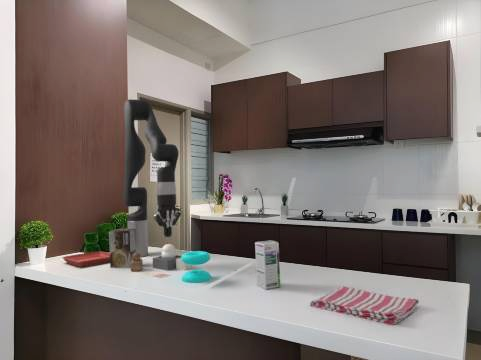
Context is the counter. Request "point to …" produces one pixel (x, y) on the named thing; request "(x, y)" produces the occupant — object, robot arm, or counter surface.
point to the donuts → (196, 259)
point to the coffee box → (122, 247)
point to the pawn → (136, 263)
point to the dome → (168, 251)
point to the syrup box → (267, 264)
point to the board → (161, 266)
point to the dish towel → (366, 305)
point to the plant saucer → (88, 259)
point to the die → (181, 265)
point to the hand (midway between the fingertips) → (167, 236)
